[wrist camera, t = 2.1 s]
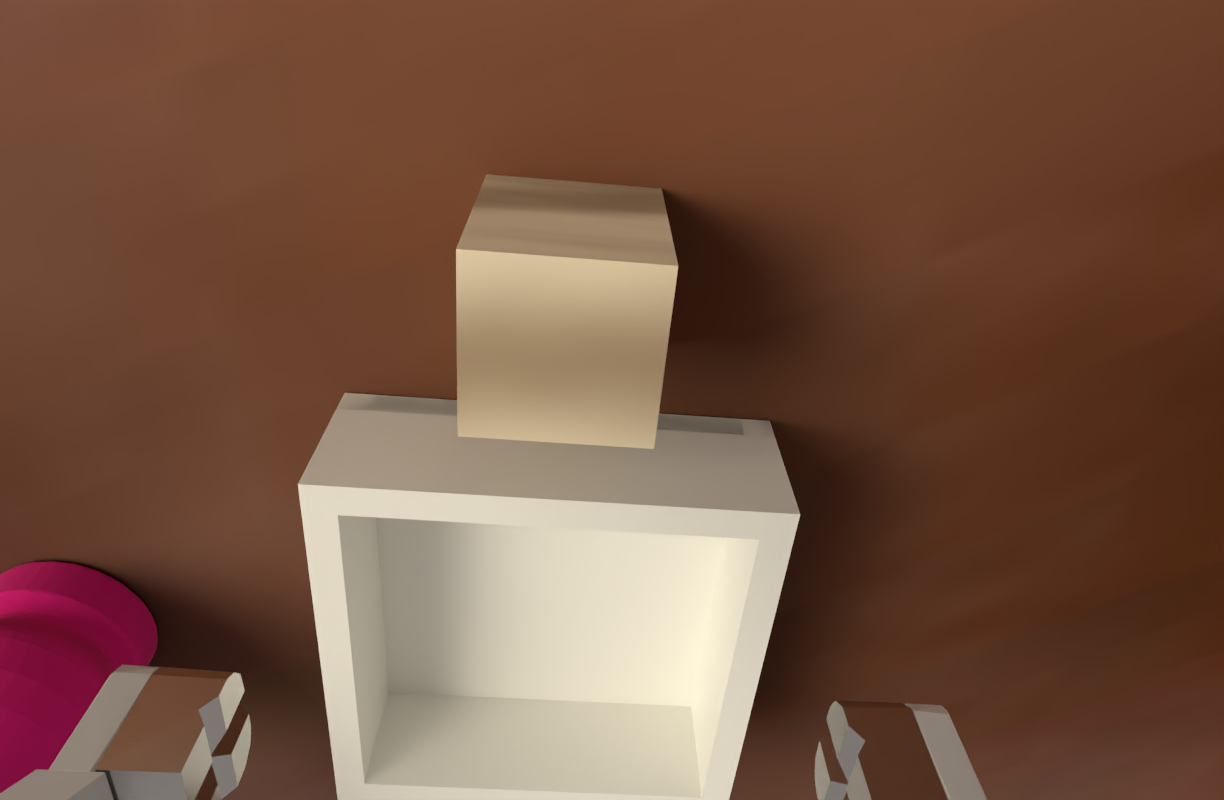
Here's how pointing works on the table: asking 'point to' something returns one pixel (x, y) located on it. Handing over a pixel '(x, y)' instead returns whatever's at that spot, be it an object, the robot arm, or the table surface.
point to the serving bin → (540, 604)
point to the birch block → (563, 312)
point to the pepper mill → (60, 655)
